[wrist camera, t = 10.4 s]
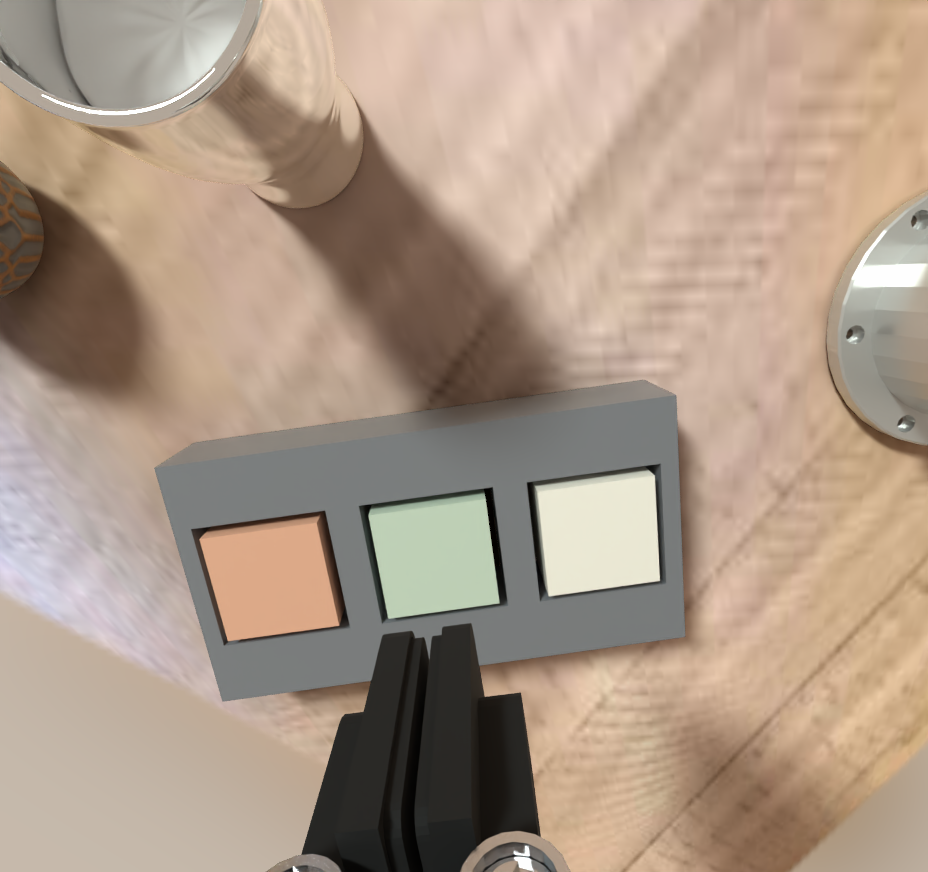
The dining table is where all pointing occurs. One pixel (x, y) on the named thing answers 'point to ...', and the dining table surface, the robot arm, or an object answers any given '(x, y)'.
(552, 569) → the cream button
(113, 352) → the dining table surface
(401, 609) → the sage button
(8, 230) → the vase
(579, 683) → the dining table surface
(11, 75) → the beer glass
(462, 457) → the button panel
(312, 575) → the terracotta button
